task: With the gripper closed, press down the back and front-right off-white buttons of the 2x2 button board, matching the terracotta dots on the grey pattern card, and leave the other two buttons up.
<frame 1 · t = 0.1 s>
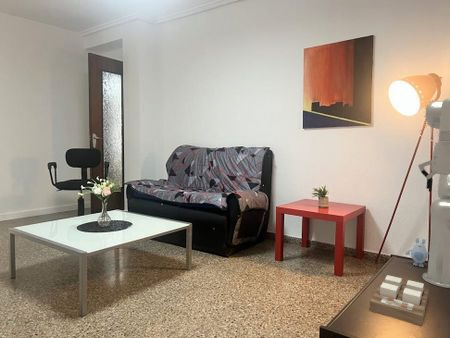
hand: (447, 193, 107), 37 cm above the table, tool pointing down, fingers open, 9 cm apart
button c: (389, 290, 109), point 4 cm above the table, slide at 0.0 cm
button b: (414, 288, 112), point 4 cm above the table, slide at 0.0 cm
button board: (400, 304, 109), on the table
button d: (411, 296, 106), point 4 cm above the table, slide at 0.0 cm
button a: (393, 282, 116), point 4 cm above the table, slide at 0.0 cm
toy figure: (418, 266, 146), on the table
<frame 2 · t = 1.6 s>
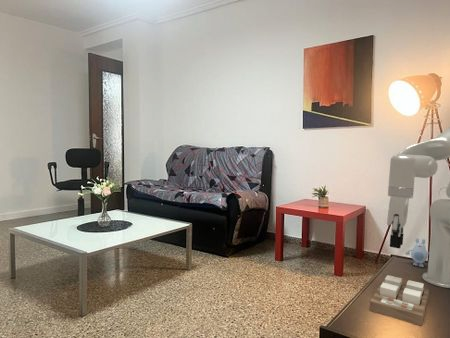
hand: (396, 245, 115), 17 cm above the table, tool pointing down, fingers open, 4 cm apart
nothing on the table moved.
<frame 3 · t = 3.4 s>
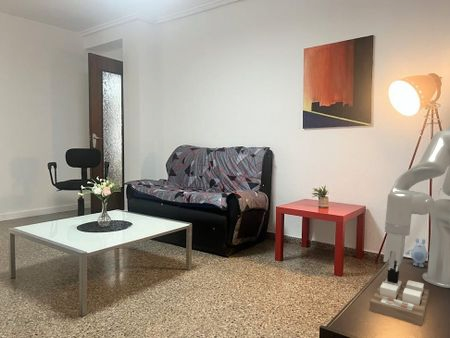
hand: (392, 281, 116), 5 cm above the table, tool pointing down, fingers closed
button a: (392, 285, 116), point 3 cm above the table, slide at 1.0 cm, touching gripper
everything else where it was.
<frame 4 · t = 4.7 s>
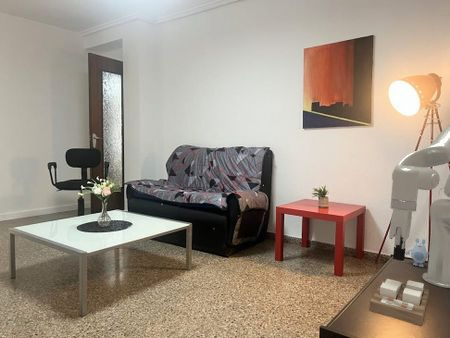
hand: (398, 259, 113), 13 cm above the table, tool pointing down, fingers closed
button a: (392, 286, 116), point 3 cm above the table, slide at 1.3 cm
everything else where it was.
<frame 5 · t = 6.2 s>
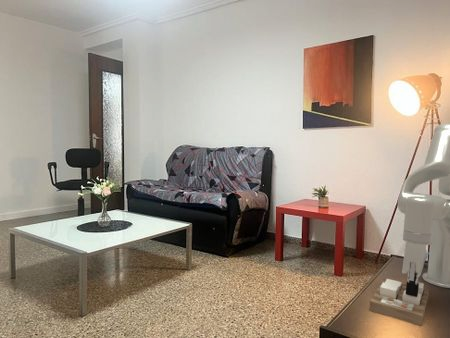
hand: (411, 294, 105), 5 cm above the table, tool pointing down, fingers closed
button d: (411, 298, 106), point 3 cm above the table, slide at 0.8 cm, touching gripper
everything else where it was.
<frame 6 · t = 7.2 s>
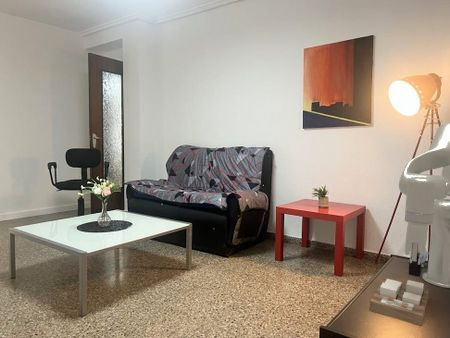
hand: (414, 274, 106), 11 cm above the table, tool pointing down, fingers closed
button d: (411, 300, 106), point 3 cm above the table, slide at 1.3 cm
everything else where it was.
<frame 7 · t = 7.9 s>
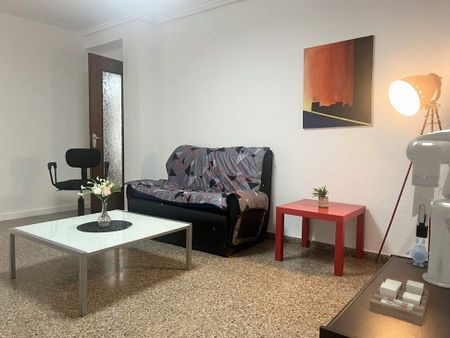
hand: (421, 237, 110), 22 cm above the table, tool pointing down, fingers closed
nothing on the table moved.
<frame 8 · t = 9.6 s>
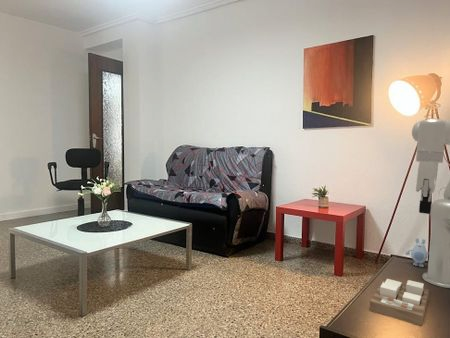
hand: (424, 212, 112), 29 cm above the table, tool pointing down, fingers closed
nothing on the table moved.
at the end: button a slide at 1.3 cm; button d slide at 1.3 cm; button b slide at 0.0 cm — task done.
